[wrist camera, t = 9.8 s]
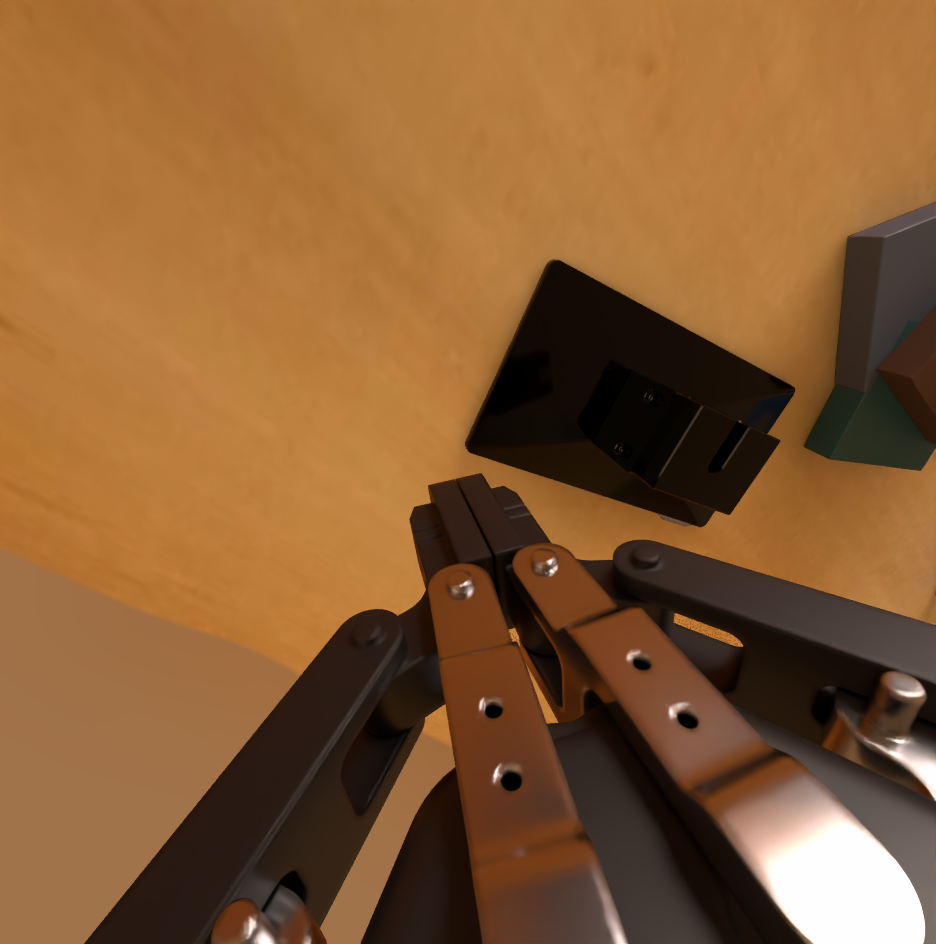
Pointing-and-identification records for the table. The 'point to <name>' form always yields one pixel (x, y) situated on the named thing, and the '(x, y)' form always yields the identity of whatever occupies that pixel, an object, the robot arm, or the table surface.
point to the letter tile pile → (885, 348)
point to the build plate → (627, 404)
